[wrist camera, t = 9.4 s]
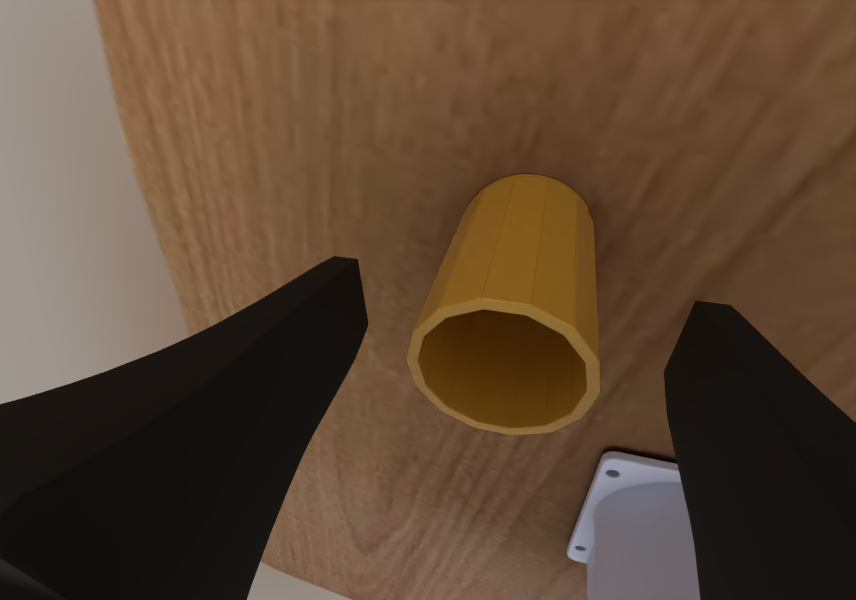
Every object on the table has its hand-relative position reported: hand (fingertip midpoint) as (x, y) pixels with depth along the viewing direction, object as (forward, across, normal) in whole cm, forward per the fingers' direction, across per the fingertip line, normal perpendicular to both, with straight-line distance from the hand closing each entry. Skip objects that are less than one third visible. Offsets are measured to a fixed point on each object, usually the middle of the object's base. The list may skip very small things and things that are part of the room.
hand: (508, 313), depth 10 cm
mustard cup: (+4, 0, 0) cm, 4 cm away
